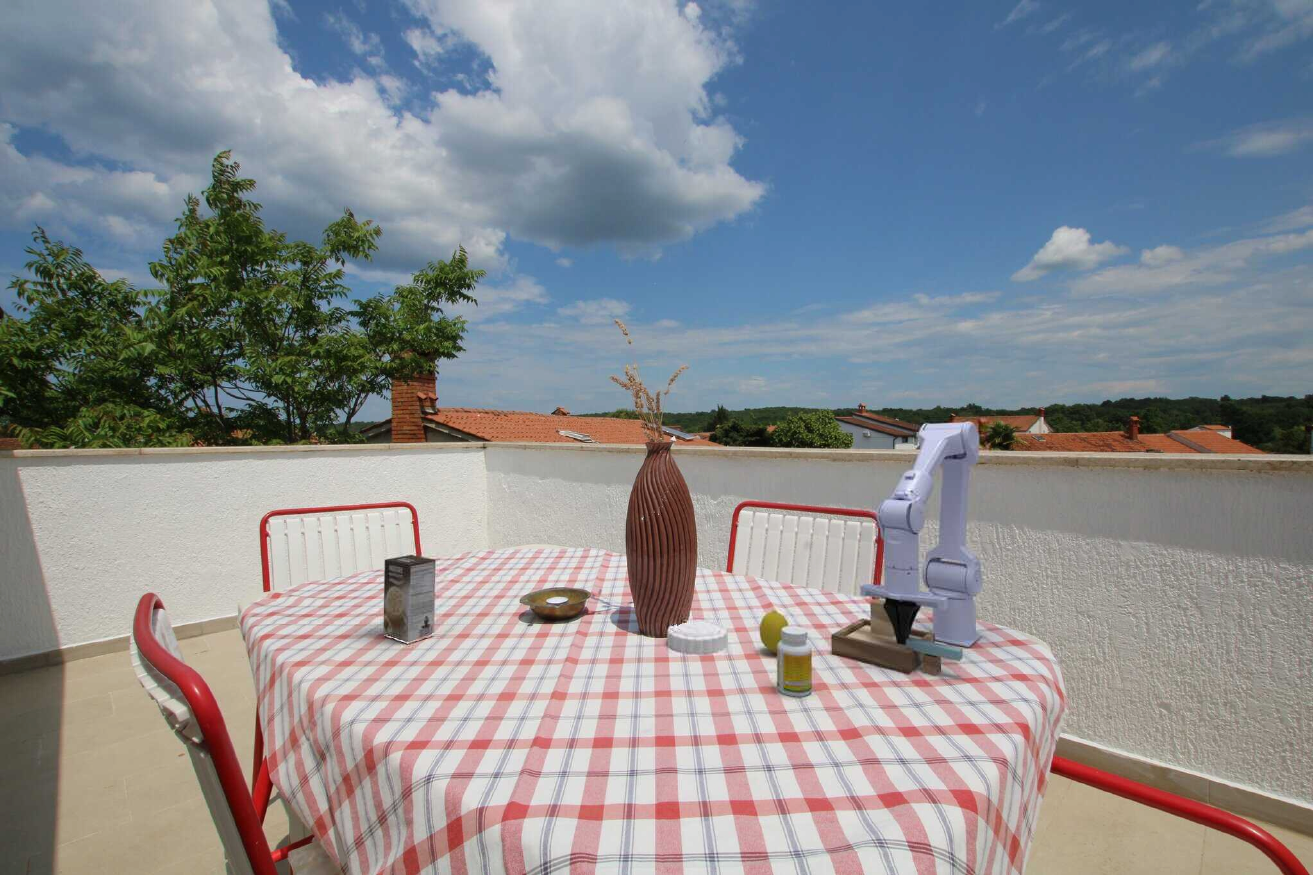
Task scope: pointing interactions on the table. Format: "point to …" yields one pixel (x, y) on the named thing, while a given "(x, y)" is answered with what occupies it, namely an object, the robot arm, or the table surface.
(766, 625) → the lemon
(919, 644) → the rectangular block
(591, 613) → the table surface
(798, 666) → the supplement bottle
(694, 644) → the mooncake
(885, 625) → the lid
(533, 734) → the table surface
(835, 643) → the tray
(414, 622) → the coffee box
